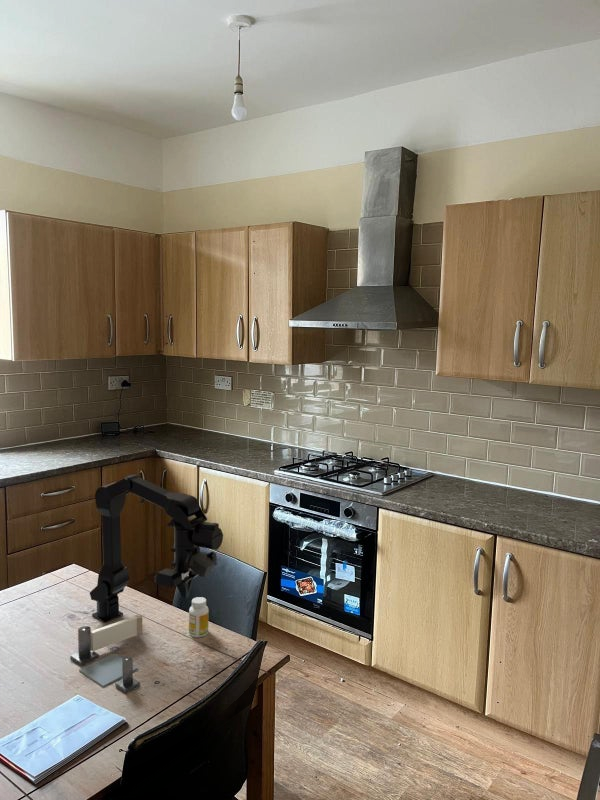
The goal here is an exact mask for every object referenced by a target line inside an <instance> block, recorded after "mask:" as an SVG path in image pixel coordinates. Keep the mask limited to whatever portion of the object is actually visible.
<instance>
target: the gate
mask: <svg viewBox="0 0 600 800" xmlns="http://www.w3.org/2000/svg"><path fill="white" fill-rule="evenodd" d="M140 635H143V616H142V615H141V614H140V613H138V614H136V615H133V616H131V617H128V618H125V619H122V620H119V621H117V622H115V623H110V624H107V625H105V626H102V627H100V628H97V629H94V630H91V650H92V651H94V652H96V651H98V650H101V649H103V648H106V647H109V646H111V645H114V644H117V643H119V642H122V641H125V640H128V639H131V638H133V637H136V636H140Z"/></svg>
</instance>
